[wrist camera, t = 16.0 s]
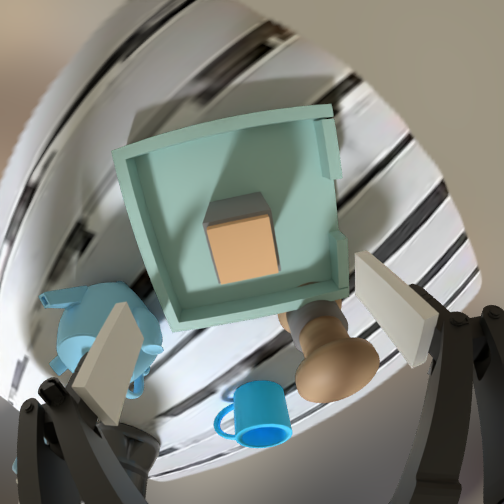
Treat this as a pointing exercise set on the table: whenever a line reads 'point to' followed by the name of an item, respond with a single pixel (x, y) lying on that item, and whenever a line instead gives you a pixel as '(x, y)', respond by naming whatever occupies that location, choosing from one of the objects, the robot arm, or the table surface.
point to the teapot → (100, 326)
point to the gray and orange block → (241, 238)
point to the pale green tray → (231, 185)
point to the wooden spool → (328, 352)
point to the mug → (258, 415)
